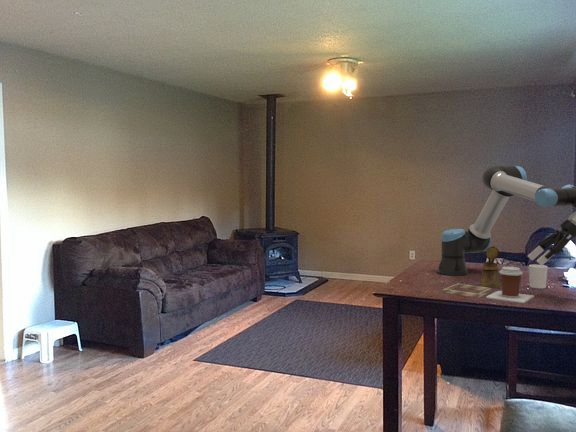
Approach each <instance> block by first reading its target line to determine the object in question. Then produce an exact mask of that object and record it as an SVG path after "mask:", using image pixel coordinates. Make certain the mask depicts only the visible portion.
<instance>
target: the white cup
mask: <svg viewBox="0 0 576 432" xmlns="http://www.w3.org/2000/svg"><path fill="white" fill-rule="evenodd" d="M548 269H549V268H548V265H544V264H543V265H542V266H541V265H540V264H529V265H528V279H529V280H528V281H529V288H532V289H546V286H547V277H548Z"/></svg>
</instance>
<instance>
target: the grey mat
mask: <svg viewBox="0 0 576 432" xmlns="http://www.w3.org/2000/svg"><path fill="white" fill-rule="evenodd" d="M534 297H535V295H533V294H524V293H519V297H516V298H510V297H504V296H502V290H496V291H495V292H492V293H489V294H487V296H485V298H486V299H491V300H497V301H504V302H511V303H519V304H525V303H527V302H528V301H531V299H534Z"/></svg>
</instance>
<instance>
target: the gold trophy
mask: <svg viewBox="0 0 576 432" xmlns="http://www.w3.org/2000/svg"><path fill="white" fill-rule="evenodd" d="M499 256H500V251H499V249H498V247H495V246H494V245H492V246H490V247H489V248H488V249H487V250H486V251H485V257H486V258H487V259H488V261H484V262H483V265H482V266H481V268H482V271H481V279H480V282H479V283H480V285H479V287H486V288H492V289H499V288H501V283H500V278H499V277H500V276H499V266H498V263H497V262H495V259H497V258H498V257H499Z"/></svg>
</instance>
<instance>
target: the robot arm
mask: <svg viewBox="0 0 576 432" xmlns="http://www.w3.org/2000/svg"><path fill="white" fill-rule="evenodd" d="M481 180H482V184H483V185H484V187H485V188H487V189H489V190H491V193H490V195H489V196H488V198H487V200H486V202H485V203H484V206H483V207H482V209H481V212H480V213H479V215H478V217H477V219H476V221H475V222H474V223H473V224H470V225H469V228H468V229H467V230H465V229H463V228H450V229H446V230H443V232H442V233H441V240H440V241H441V257H440V261H439V263H438V267H437V273H438V272H439V273H438V274H440V273H441V274H440V275H444V274H446V275H445V276H466V275H468V268H467V265H466V259H465V254H470V253H471V254H472V253H473V254H474V253H477V254H478V253H482V252H486V250H487V249H488V248H490V247H491V245H492V234H491V230H492V229H493V227H494V225H495V223H496V221H497V220H498V218H499V216H500V215H501V212H502V211H503V209H504V208H505V206H506V204H507V202H508V200H509V198H512V197H514V196H516V197H520V198H524V199H526V200H529V201H532V202H535V203H536V204H537V205H538V206H539V207H542V208H543V207H544V208H553V207H555V208H556V207H559V208H560V207H572V208H573V209H575V210H576V186H575V185H573V184H566V185H563V186H562V187H561V188H553V187H549V186H546V185H542V184H539V183H536V182H533V181H529V180H528V177H527V172H526V171H525V169H524V168H523V167H522V166H519V165H493V166H492V165H491V166H489V167H488V168H486V169H485V170H484V171H483V173H482V175H481ZM559 227H560V228H561V230H559V229H557V230H556V231H554V232H553V233H552V234H550V235H548V236H547V237H546V238H544V239H543V240H541V241H540V242H539V243H538V246H536V247H535V249H533V250H532V251H531V252H530V253H528V255H527V257H528V259H530V260H531V261H534V260H536V258H537V257H538V258H537V260H536V262H537V264H538V265H541V266H542V265H544V264H546V263H547V262H548V261H549V260H550V259H551V258H552V257H554V256H555V255H559V254H560V253H561V252H562V250H563V249H564V248H565V247H566V246H567V245H568V244H569V242H570V241H571V240H572V239H575V238H576V211H574V212H572V214H571V215H570V216H569V217H567V219H566V220H564V221H563V222H562V223H561V224H560V225H559ZM547 248H548V250H547V251H546V249H547ZM544 251H545V253H544V254H542V253H543V252H544ZM541 254H542V255H541ZM539 255H541V256H540V257H539Z"/></svg>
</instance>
